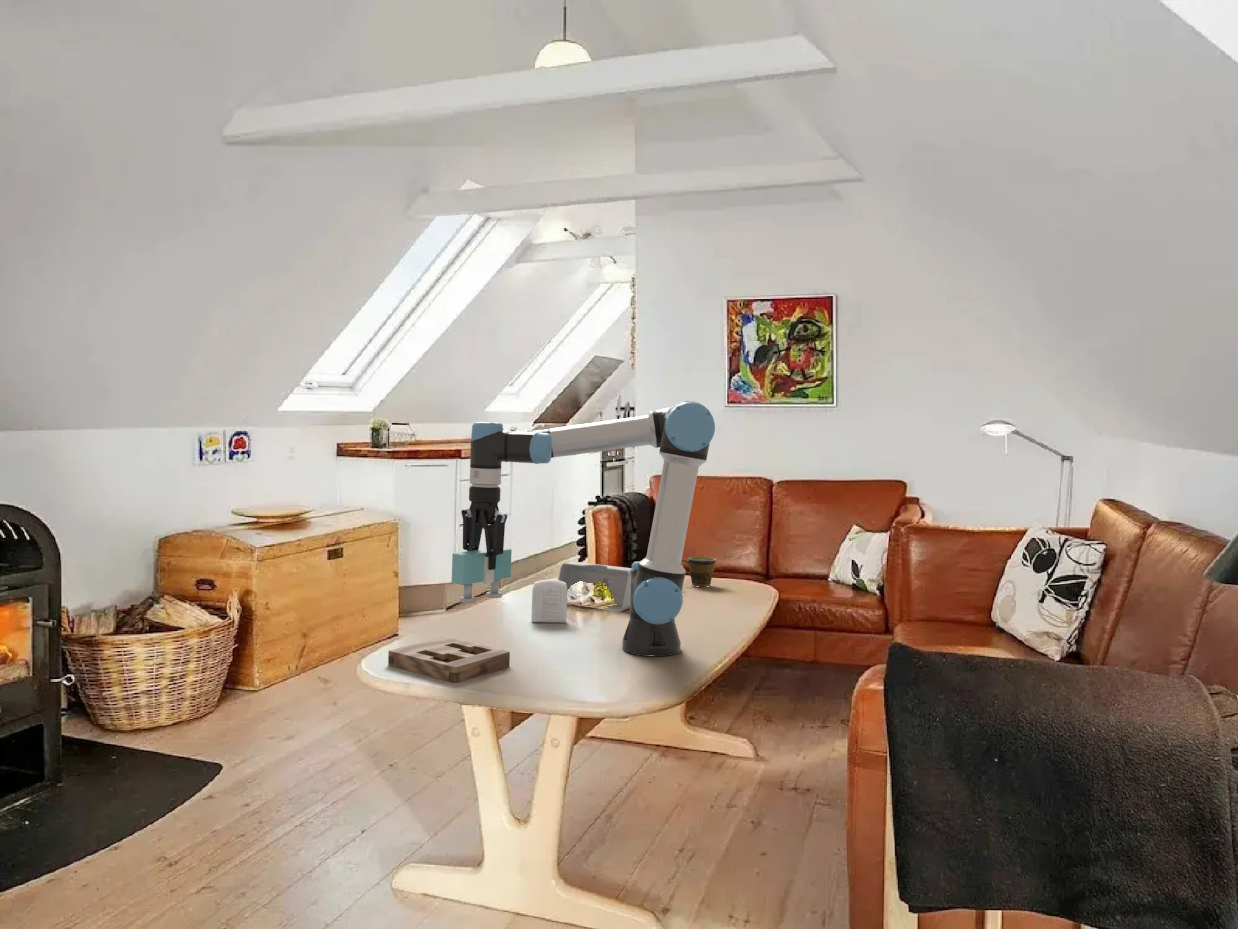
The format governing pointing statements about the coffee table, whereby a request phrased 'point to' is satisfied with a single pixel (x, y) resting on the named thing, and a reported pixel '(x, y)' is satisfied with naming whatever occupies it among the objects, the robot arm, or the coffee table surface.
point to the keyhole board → (449, 659)
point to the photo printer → (549, 601)
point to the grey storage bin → (601, 580)
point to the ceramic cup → (701, 570)
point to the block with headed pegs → (479, 572)
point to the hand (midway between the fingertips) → (481, 581)
